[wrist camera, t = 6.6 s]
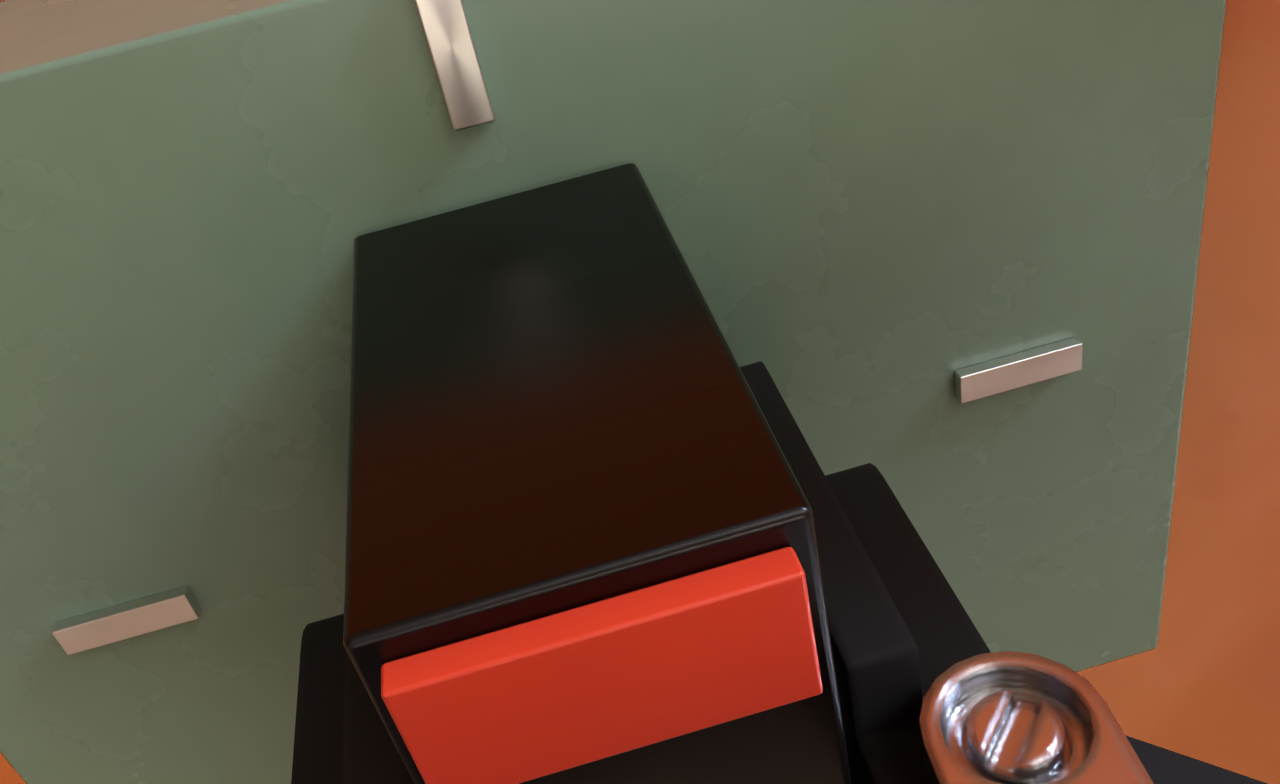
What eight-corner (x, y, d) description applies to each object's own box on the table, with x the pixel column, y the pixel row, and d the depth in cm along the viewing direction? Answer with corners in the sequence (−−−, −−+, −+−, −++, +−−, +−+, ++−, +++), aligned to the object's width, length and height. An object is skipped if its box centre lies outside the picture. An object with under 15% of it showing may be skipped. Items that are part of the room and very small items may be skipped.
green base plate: (1072, -278, 12) (1270, -256, 9) (1051, 517, 18) (1165, 663, 16) (-290, 62, 11) (-494, 189, 8) (190, 766, 17) (159, 962, 15)
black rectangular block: (745, 672, 14) (907, 1119, 10) (543, 731, 14) (620, 1212, 10) (635, 158, 10) (830, 537, 6) (351, 235, 10) (336, 679, 6)
